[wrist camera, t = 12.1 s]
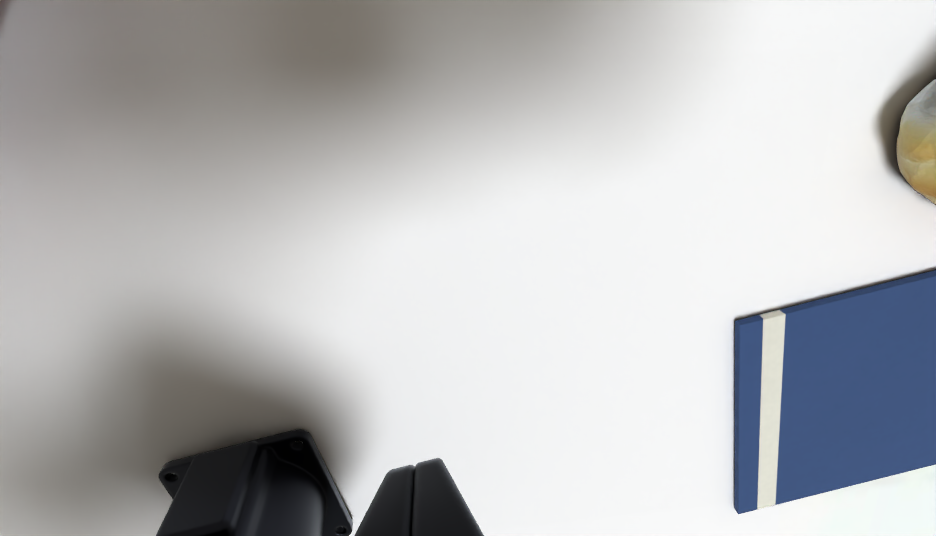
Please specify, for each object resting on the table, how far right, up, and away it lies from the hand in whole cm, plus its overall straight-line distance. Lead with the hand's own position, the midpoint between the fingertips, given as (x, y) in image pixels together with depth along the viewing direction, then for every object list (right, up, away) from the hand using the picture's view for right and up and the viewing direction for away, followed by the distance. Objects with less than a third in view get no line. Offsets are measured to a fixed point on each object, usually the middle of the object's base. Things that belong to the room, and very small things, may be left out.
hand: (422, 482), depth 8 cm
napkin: (+24, -1, +17) cm, 29 cm away
